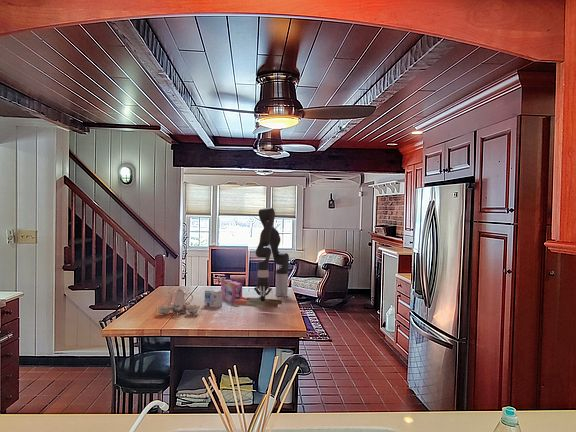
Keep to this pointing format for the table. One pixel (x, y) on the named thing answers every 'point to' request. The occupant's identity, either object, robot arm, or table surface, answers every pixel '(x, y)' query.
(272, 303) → the track
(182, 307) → the chinaware
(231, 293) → the gum box
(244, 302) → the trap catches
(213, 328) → the table surface
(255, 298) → the slate block
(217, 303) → the light bulb box
